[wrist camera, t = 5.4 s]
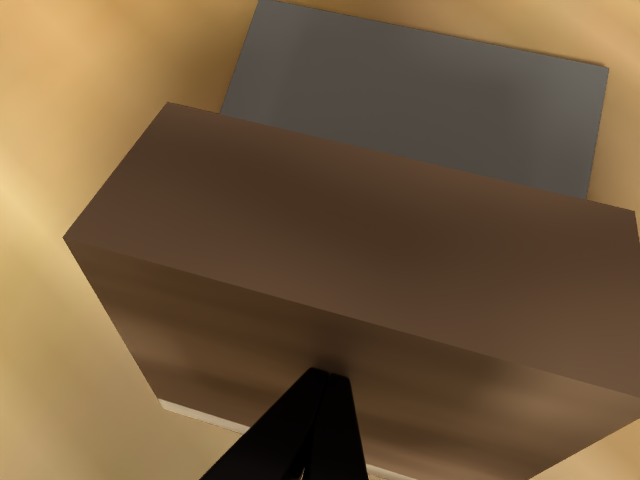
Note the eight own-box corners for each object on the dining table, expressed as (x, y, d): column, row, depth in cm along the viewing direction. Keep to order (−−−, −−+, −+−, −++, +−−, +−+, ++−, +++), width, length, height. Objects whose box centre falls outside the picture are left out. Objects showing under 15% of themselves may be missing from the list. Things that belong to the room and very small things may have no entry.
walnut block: (476, 507, 14) (663, 404, 7) (163, 409, 16) (62, 237, 9) (485, 382, 17) (634, 211, 10) (213, 304, 18) (167, 101, 11)
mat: (548, 383, 17) (553, 384, 16) (167, 276, 18) (163, 275, 18) (604, 73, 19) (609, 67, 19) (261, 4, 21) (259, -3, 20)
